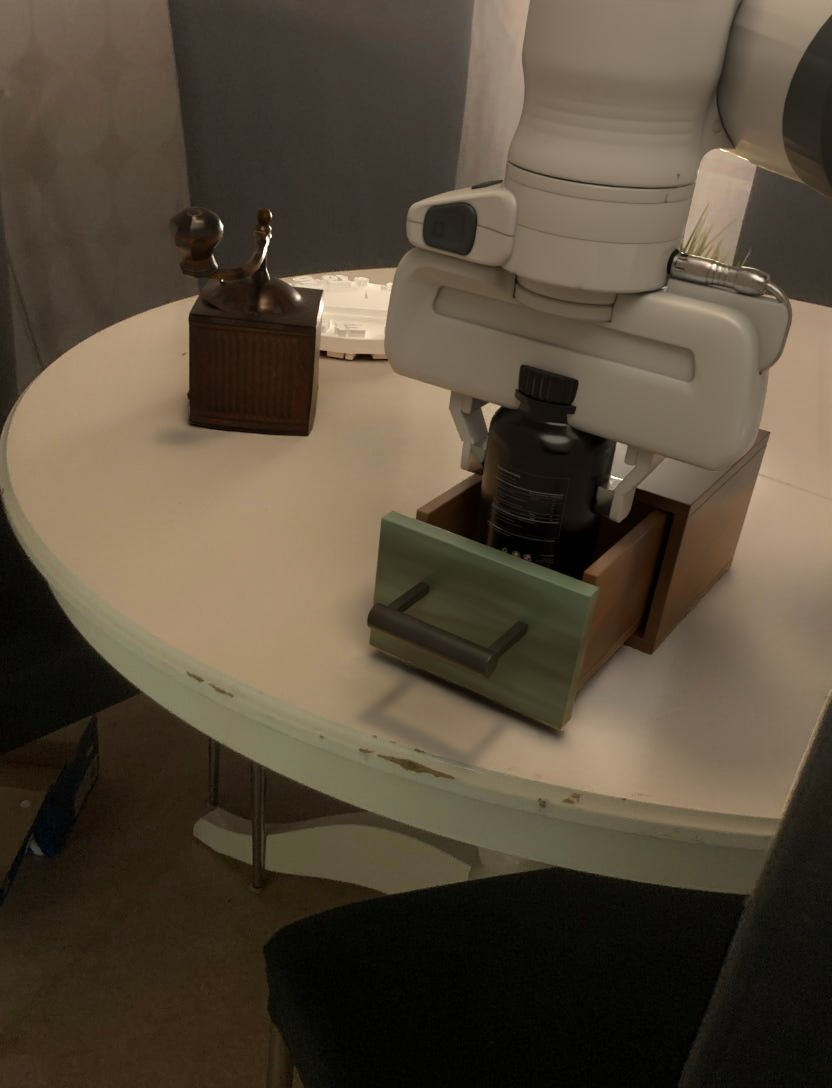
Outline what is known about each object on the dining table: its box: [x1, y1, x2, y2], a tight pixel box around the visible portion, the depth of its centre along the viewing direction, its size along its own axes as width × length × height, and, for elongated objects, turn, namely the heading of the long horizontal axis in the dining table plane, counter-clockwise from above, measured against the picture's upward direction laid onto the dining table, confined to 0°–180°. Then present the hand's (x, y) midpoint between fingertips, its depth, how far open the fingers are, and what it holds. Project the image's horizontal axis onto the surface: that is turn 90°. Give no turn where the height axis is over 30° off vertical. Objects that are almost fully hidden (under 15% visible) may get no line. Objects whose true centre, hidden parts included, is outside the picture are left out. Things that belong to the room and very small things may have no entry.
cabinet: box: [610, 428, 771, 655], centre depth 73 cm, size 15×14×10 cm
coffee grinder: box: [168, 205, 324, 436], centre depth 89 cm, size 16×11×18 cm
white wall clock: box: [288, 274, 393, 361], centre depth 115 cm, size 20×20×3 cm
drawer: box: [366, 473, 674, 730], centre depth 63 cm, size 18×12×8 cm
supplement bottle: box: [474, 365, 617, 581], centre depth 61 cm, size 7×7×12 cm
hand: (541, 492), depth 61 cm, fingers closed on supplement bottle, 7 cm apart
